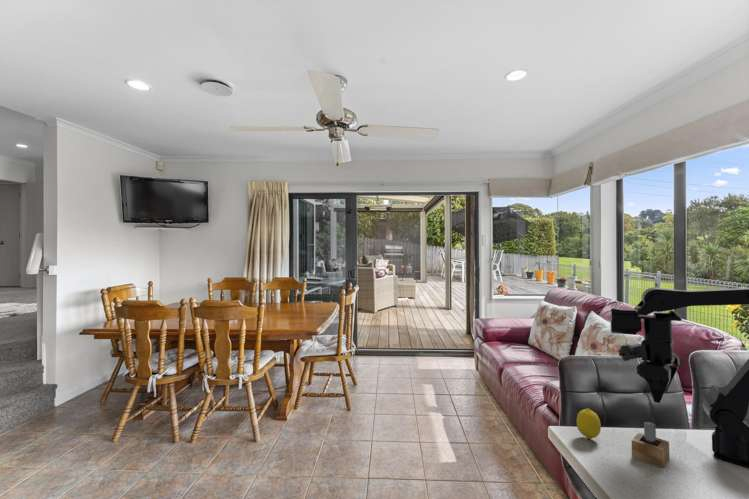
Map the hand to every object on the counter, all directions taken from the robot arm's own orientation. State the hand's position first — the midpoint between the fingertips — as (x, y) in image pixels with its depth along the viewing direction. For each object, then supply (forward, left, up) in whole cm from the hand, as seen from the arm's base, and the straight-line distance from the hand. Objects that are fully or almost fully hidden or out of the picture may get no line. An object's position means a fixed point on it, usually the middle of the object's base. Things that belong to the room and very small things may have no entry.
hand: (660, 397), depth 93 cm
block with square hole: (0, +10, -12) cm, 16 cm away
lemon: (+13, +12, -12) cm, 21 cm away
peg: (0, +10, -12) cm, 16 cm away
